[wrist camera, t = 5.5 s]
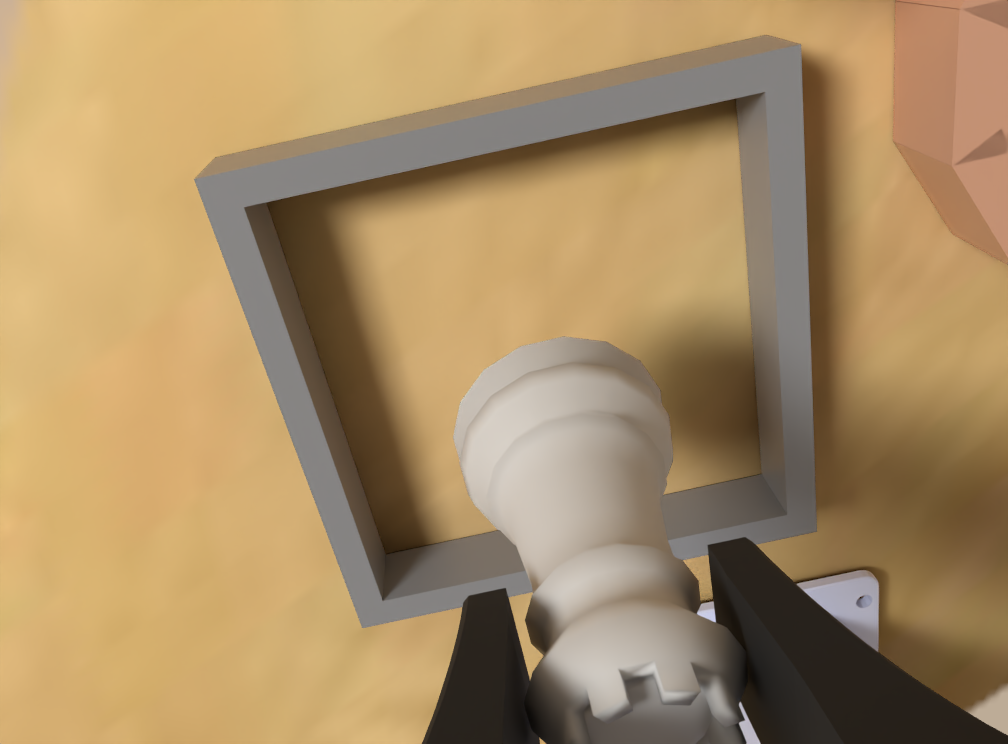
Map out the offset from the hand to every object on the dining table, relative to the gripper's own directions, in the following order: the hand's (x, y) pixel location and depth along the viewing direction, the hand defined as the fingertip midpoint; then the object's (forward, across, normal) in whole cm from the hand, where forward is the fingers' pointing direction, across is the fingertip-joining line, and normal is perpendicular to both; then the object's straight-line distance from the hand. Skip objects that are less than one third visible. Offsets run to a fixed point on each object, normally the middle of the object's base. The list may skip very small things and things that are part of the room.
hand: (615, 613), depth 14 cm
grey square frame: (+10, 0, 0) cm, 10 cm away
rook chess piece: (+6, 0, -1) cm, 6 cm away
